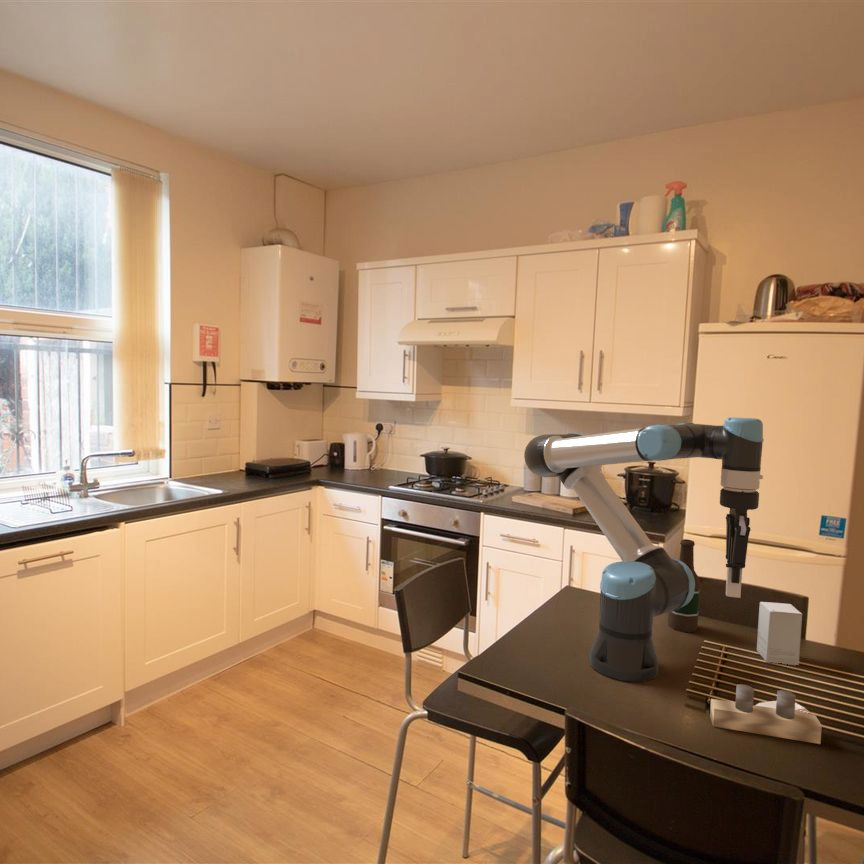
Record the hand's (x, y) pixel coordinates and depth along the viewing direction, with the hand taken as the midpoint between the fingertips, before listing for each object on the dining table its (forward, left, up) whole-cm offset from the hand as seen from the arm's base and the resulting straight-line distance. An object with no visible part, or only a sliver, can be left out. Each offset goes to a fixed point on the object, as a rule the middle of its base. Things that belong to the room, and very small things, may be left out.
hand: (732, 595), depth 134 cm
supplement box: (+14, +18, -20) cm, 30 cm away
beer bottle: (-6, +31, -20) cm, 37 cm away
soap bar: (+8, -12, -20) cm, 25 cm away
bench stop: (+3, -19, -19) cm, 27 cm away
